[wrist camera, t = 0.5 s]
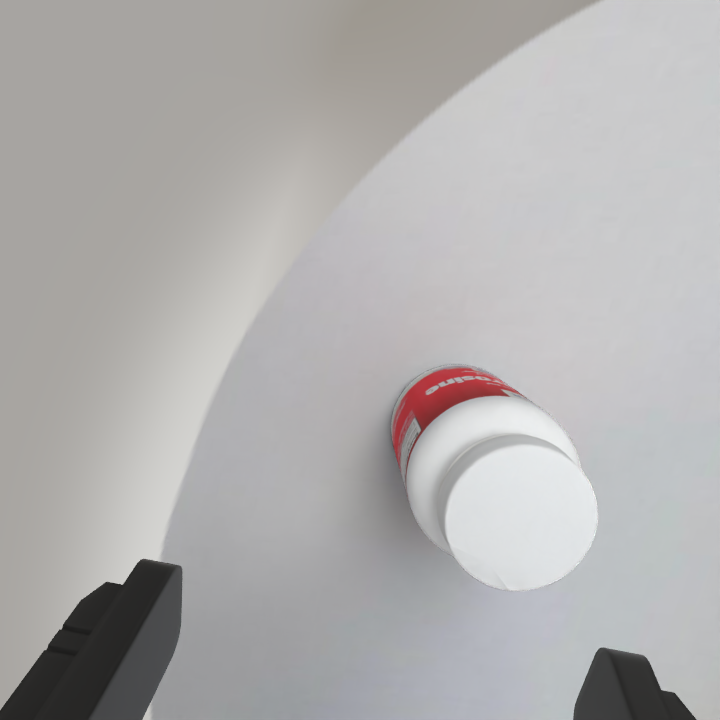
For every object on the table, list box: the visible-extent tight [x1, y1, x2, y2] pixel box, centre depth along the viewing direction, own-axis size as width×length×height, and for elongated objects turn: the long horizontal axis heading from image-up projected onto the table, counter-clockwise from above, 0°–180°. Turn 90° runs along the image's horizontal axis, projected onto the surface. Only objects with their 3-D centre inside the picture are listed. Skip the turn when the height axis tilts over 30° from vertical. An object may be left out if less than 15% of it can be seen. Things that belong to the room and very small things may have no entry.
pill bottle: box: [391, 364, 598, 591], centre depth 23 cm, size 6×6×11 cm
